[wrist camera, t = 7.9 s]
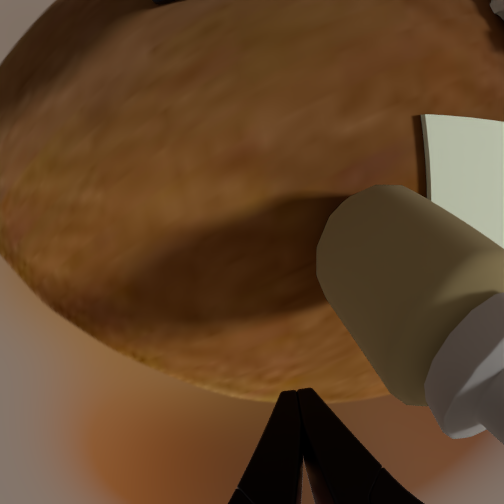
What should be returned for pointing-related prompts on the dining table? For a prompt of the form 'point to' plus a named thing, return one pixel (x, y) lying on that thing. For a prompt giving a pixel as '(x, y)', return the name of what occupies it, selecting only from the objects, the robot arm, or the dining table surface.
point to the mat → (467, 170)
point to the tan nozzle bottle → (420, 303)
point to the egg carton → (498, 7)
